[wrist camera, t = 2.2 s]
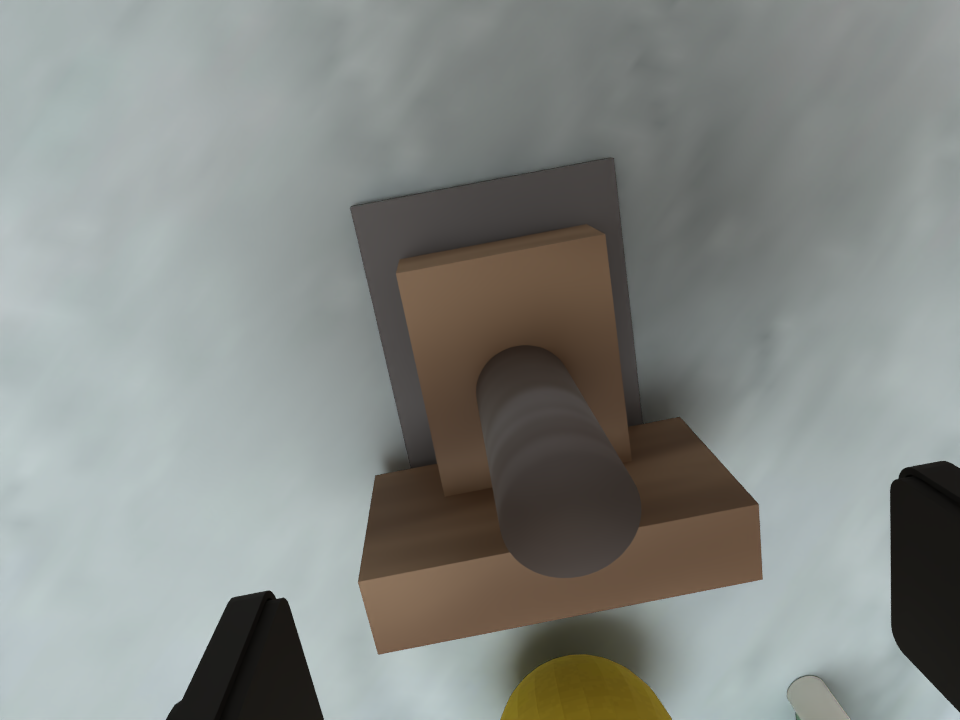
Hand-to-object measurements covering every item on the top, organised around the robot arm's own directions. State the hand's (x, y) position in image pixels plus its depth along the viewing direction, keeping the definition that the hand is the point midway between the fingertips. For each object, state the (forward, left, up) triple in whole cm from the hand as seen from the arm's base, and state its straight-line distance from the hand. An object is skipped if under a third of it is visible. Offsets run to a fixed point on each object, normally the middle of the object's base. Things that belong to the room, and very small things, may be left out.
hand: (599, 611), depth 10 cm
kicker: (0, 0, -9) cm, 9 cm away
